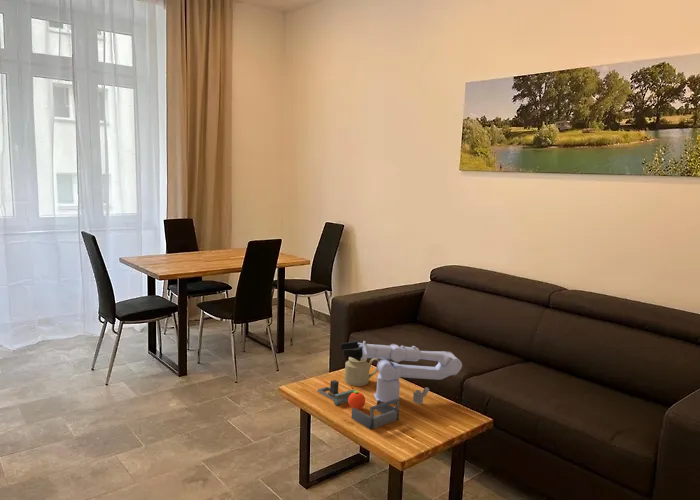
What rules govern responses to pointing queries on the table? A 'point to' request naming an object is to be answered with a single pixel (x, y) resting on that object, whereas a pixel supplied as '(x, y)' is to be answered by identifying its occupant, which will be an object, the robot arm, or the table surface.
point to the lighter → (420, 395)
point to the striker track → (325, 392)
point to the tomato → (356, 400)
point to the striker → (339, 397)
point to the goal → (379, 420)
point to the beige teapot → (358, 371)
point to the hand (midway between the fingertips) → (342, 349)
